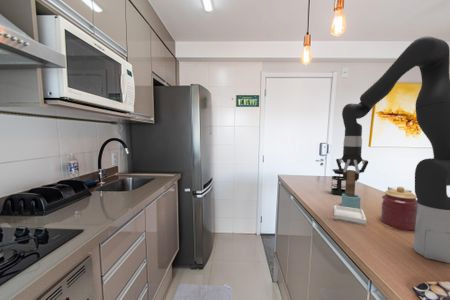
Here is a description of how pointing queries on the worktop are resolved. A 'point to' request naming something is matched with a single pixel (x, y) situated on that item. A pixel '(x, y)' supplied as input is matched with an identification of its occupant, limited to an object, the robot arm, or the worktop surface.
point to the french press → (338, 183)
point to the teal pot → (351, 201)
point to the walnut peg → (350, 182)
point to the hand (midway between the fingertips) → (350, 179)
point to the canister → (399, 209)
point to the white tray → (349, 215)
